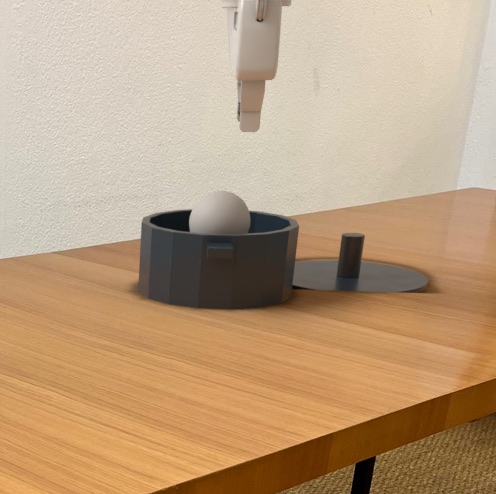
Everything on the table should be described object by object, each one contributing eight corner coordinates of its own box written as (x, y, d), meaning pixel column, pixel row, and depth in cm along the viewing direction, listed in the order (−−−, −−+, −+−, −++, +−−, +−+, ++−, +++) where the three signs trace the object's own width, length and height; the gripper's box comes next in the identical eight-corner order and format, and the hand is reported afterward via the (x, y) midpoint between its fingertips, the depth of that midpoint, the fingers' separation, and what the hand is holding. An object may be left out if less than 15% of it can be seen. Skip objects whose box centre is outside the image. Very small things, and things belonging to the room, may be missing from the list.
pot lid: (410, 272, 123) (418, 222, 121) (440, 307, 108) (450, 251, 106) (265, 268, 126) (270, 220, 124) (275, 302, 111) (281, 247, 109)
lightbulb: (193, 290, 114) (200, 185, 110) (249, 295, 112) (259, 188, 107) (176, 302, 109) (183, 193, 105) (234, 308, 107) (245, 197, 102)
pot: (281, 283, 119) (289, 206, 115) (296, 332, 100) (307, 242, 97) (142, 279, 122) (146, 203, 118) (132, 326, 103) (137, 238, 99)
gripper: (304, -40, 87) (288, 137, 92) (286, -31, 105) (274, 116, 111) (225, -37, 88) (215, 138, 94) (222, -29, 106) (213, 117, 112)
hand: (247, 126), depth 102 cm, fingers open, 8 cm apart
